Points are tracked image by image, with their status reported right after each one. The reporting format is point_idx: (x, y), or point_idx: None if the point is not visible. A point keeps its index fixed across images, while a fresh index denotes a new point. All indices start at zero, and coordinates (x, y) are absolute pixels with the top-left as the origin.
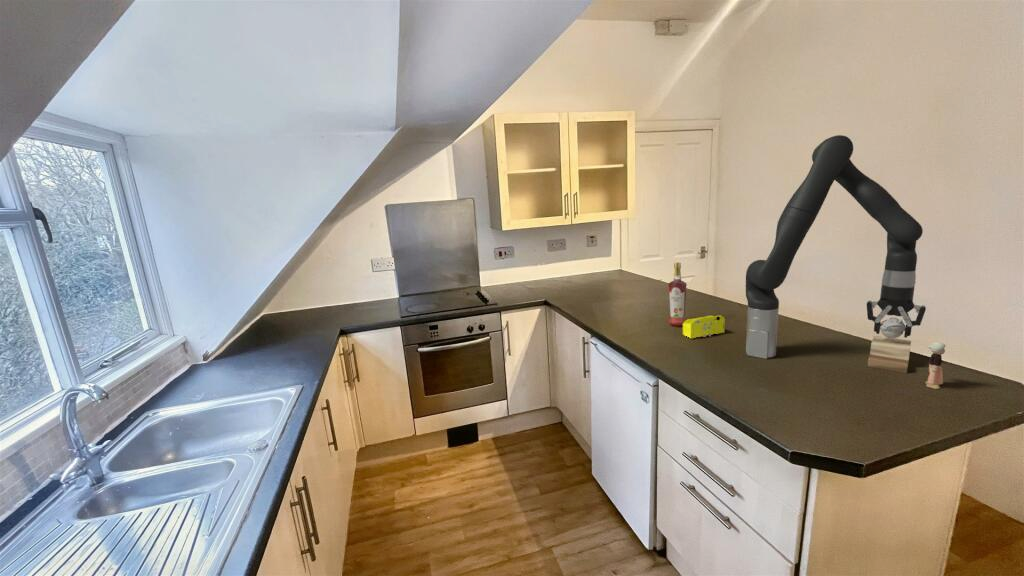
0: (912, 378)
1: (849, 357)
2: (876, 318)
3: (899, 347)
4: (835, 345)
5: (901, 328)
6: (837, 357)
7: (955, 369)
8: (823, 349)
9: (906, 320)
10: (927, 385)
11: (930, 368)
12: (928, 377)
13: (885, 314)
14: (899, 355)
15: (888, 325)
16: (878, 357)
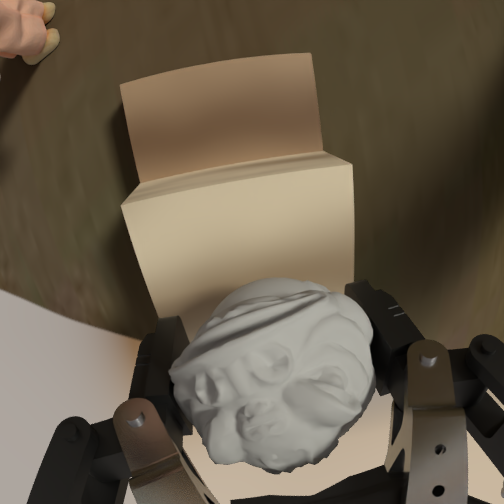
0: (103, 42)
1: (385, 148)
2: (450, 374)
3: (182, 203)
4: (433, 271)
5: (186, 347)
6: (420, 117)
7: (43, 283)
8: (465, 193)
9: (160, 459)
10: (49, 2)
11: (6, 5)
12: (37, 25)
13: (417, 455)
14: (180, 177)
15: (319, 322)
16: (274, 116)
